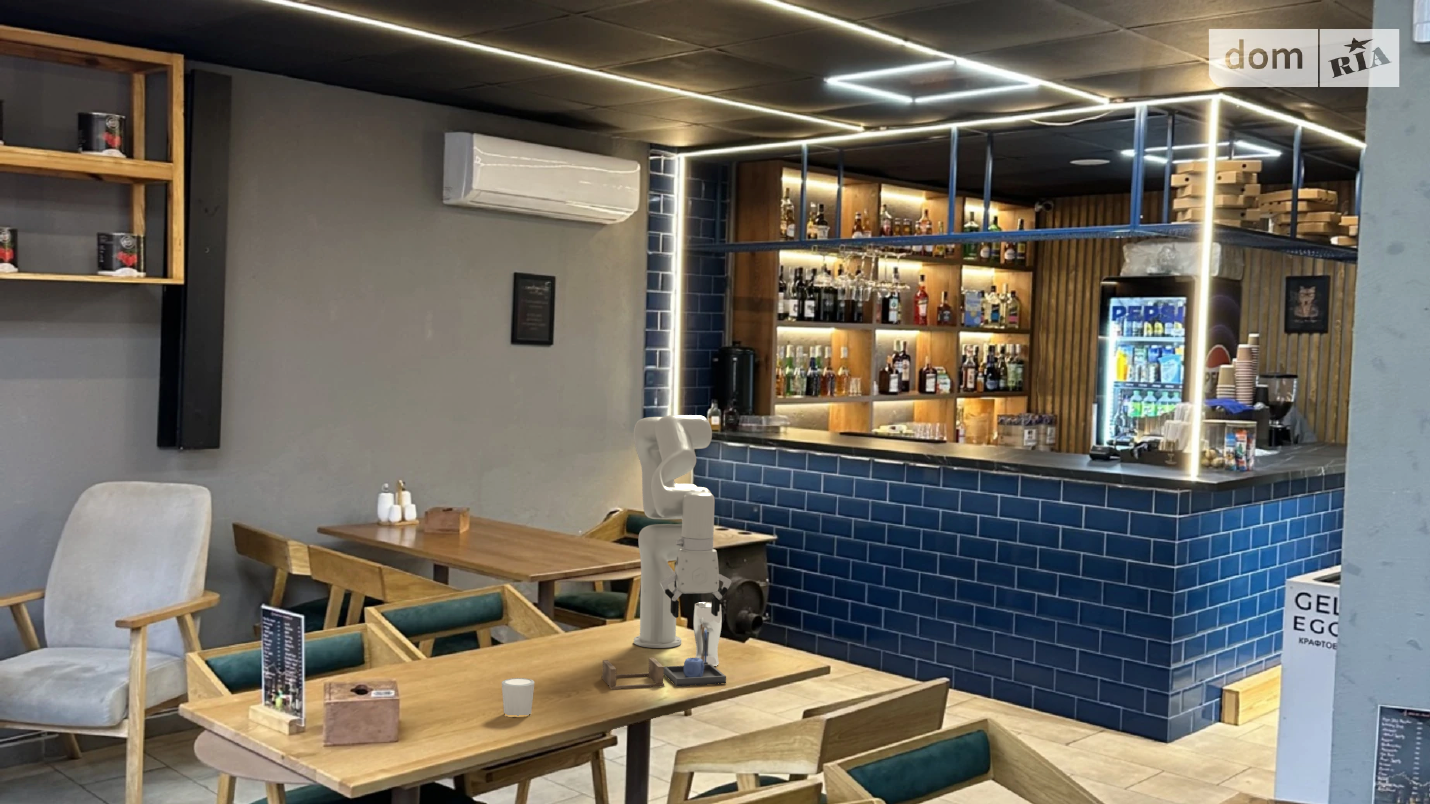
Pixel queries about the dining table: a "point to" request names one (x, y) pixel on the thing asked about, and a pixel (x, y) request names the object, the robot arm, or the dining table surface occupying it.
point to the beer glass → (707, 633)
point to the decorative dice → (693, 667)
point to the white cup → (517, 696)
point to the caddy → (633, 675)
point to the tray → (709, 677)
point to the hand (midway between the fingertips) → (694, 615)
